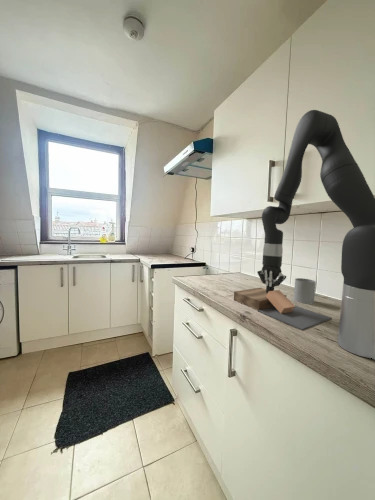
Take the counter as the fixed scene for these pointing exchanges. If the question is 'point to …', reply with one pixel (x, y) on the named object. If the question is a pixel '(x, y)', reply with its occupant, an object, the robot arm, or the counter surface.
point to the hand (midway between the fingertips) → (269, 294)
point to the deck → (253, 298)
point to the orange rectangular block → (280, 301)
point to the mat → (296, 317)
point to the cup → (304, 290)
